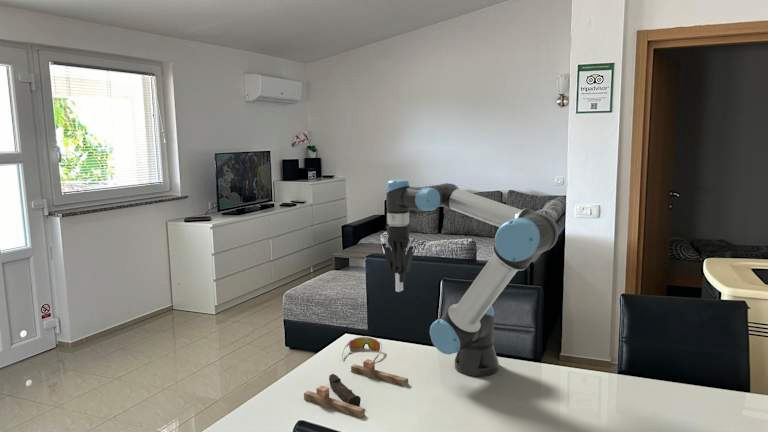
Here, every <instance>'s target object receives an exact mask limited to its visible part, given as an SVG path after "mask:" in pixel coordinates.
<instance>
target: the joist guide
mask: <svg viewBox="0 0 768 432" xmlns="http://www.w3.org/2000/svg"><path fill="white" fill-rule="evenodd" d="M373 360H374V359H369V358H367V359H365V360H364V361H362V363H363V365H359V364H352V365H351V366H350V372H351V373H355V374H357V375H361V376H365V377H369V378H373V379H376V380H380V381H385V382H386V383H391V384H394V385H398V386H401V387H407V386H408V385H409V378H407V377H404V376H400V375H396V374H392V373H390V372H385V371H381V370H377V369H376V367H375V366H376V365H375V364H376V363H375V361H376V360H375V361H373ZM315 389H316V392H313V391H311V390H306V391H305V392H303V400H307V401H309V402H312V403H315V404H318V405H321V406H324V407H327V408H329V409H333V410H336V411H339V412H343V413H345V414H347V415H351V416H353V417H357V418H359V419H360V418H363V417H365V415H366V412H365V411H366V410H365V408H363V407H361V406H359V407H358V406H355V405H352V404H349V403H346V402H345V401H343V400H339V399H336V398H333V397H330V387H329V386H328V387H327V386H326V385H320V386H318V387H316V388H315Z"/></svg>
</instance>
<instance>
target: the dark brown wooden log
mask: <svg viewBox="0 0 768 432" xmlns="http://www.w3.org/2000/svg"><path fill="white" fill-rule="evenodd" d="M328 380H329V386H330V389H331V390H332V392H334V393H336V394H337V395H338V396H339V397H340V398H341V399H342V401H343V402H345V403H349V404H352V405H355V406H358V407H361V406H360V405H361V401H362V399H361V397H360V396H359V395H356V394H355V393H354V392H353V390H352V389H350V388H348V387H347V386H346V385H345V383H343V382H342V381H341V378H340V377H339V376H338V375H336V374H335V373H331V374H330V375H329V376H328Z"/></svg>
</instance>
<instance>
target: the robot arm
mask: <svg viewBox="0 0 768 432" xmlns="http://www.w3.org/2000/svg"><path fill="white" fill-rule="evenodd" d="M386 203H387V205H386V207H387V208H386V210H387V211H386V213H387V214H386V215H387V216H386V217H387V218H386V219H387V224H388V225H387V236H388V237H387V241H385V242H382V243H381V246H382V249H383V250H384V255H385V259H386V264H387V268H388V269H387V270H388V271H391V272H392V273H393V281H394V282H395V285H394V287H395V288H394V289H395V292H397V293H401V292H402V291H404V282H405V281H406V273H408V272H410V271H411V265H412V263H413V262H412V260H413V256H414V252H415V250H416V248H417V246H416V245H413V244H412V243H411V241H410V225H409V224H410V210H418V211H423V212H428V211H431V212H432V211H435V210H436V209H437V208H439V207H443V208H446V209H450V210H452V211H455V212H457V213H460V214H463V215H466V216H468V217H471V218H474V219H477V220H479V221H482V222H485V223H487V224H489V225H493V226H496V227H498V229H497V231H496V233H495V237H494V241H495V242H494V243H493V244H492V252H493V254H492V255H491V257H490V258H489V259H488V261H487V262H486V264H485V265H484V267H483V268H482V269H481V271H480V272H479V273H478V275H477V276H476V278H474V281H473V282H472V283H471V285H470V286H469V288H468V289H467V290H466V291H465V293H464V295H463V296H462V297H461V299H460V300H459V301H458V303H453V304H452V305H450V306H449V307H448V309H447V310H446V311H445V312H444V314H443V315H442V317H440V318H438V319H436V320H435V321H433V322H432V324H431V325H430V327H429V336H430V339H431V343H432V345H433V346H434V347H435V348H436V350H437V351H438V352H440V353H442V354H444V355H448V356H449V355H453V354H456V355H455V359H454V369H455V370H456V371H457V372H459V373H461V374H463V375H467V376H473V377H474V376H475V377H485V376H490V375H494V374H495V373H497V372H498V371H499V367H500V366H499V364H500V362H499V359H498V356H497V353H496V350H495V346H494V345H495V344H494V343H495V342H494V341H495V339H494V338H495V336H494V335H495V334H494V332H495V312H494V311H495V310H494V307H493V306H492V305H493V304H494V302H496V300H497V299H498V297H499V296H500V294H501V293H502V292H503V291H504V289H505V288H506V287H507V285H508V284H509V283H510V281H511V280H512V279H513V278H514V276H515V275H516V273H517V272H519V271H520V272H521V271H526V269H527V268H528V267H529V265H530V264H531V263H532V261H533V260H534V259H535V258H536V257H537V255H539V254H542V253H545V252H547V251H549V250H551V249H552V248H553V247H554V246H555V245H556V243H557V241H558V237H559V228H558V225H557V223H556V222H555V220H554V219H553V218H552V217H550V216H549V215H547V214H545V213H543V212H539V211H536V210H533V209H530V208H523V209H520V208H517V207H514V206H512V205H511V206H510V205H507V204H505V203H502V202H498V201H496V200H493V199H490V198H487V197H485V196H481V195H478V194H475V193H472V192H469V191H466V190H463V189H461V188H459V187H458V186H457V185H456V184H455V183H452V182H451V183H449V182H446V183H441V184H435V185H429V186H427V185H426V186H410V183H409V180H407V179H391V180H388V181H387V183H386Z"/></svg>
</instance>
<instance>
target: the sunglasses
mask: <svg viewBox="0 0 768 432" xmlns="http://www.w3.org/2000/svg"><path fill="white" fill-rule="evenodd" d="M366 345H367V346H368V349H369V350H373V351H376V352H378V353H377V355H376V356H375V358H374V359H372V360H373V361H376V359H377V358H378V357H379V356H380V354H381V351H382V345H383V344H382V343H381V341H380V340H378V339H377V338H375V337H372V336H367V335H365V336H362V335H361V336H356V337H354V338H352V339H349V341H348V342H347V343H346V344H345V345H344V346H343V349H342V352H341V358H342V361H343V363H345V360H344V351H345V350H346V348H348V349H349V351H352V350H358V349H360V350H361V349H364V348H365V346H366Z"/></svg>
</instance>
